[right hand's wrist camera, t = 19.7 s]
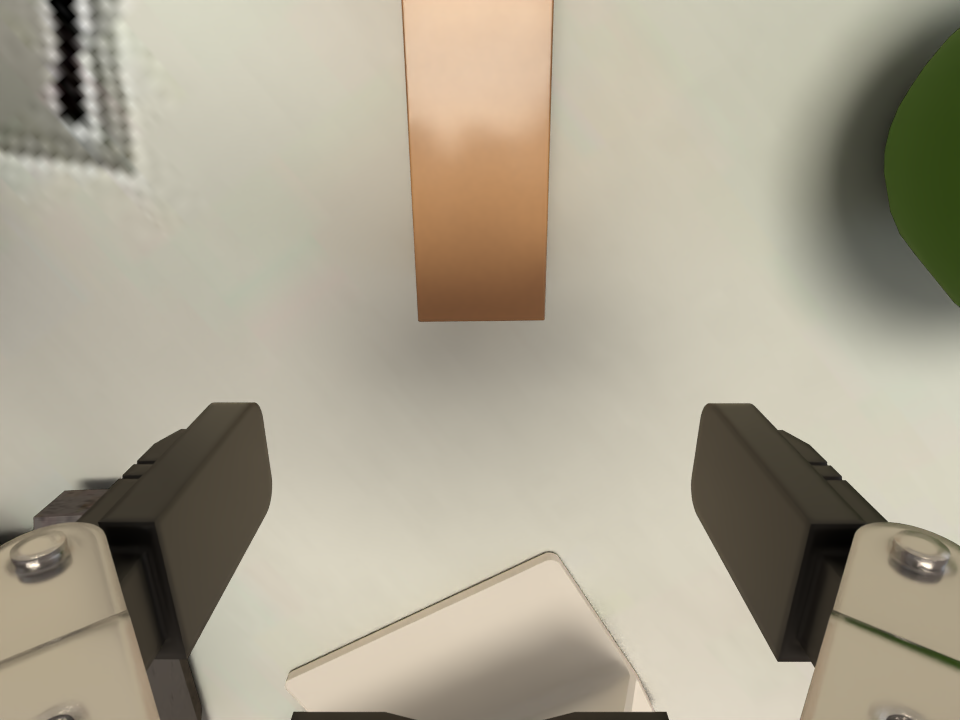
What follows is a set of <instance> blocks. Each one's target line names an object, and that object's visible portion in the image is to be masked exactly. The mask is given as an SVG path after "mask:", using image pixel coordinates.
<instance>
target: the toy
mask: <svg viewBox="0 0 960 720" xmlns="http://www.w3.org/2000/svg"><path fill="white" fill-rule="evenodd" d="M107 490H108V489H96V490H70V491H64V492H63V493H62V494H60V495H59V496H58V497H57V498H56V499H55V500H53V501H52V502H51V503H50V504H49V505H48V506H46V507H45V508H44V509H43V510H42V511H41V512H39V513H38V514H37V515H36V516H35V517H34V518H33V519H34V530H36V529H39V528H42V527H46V526H50V525H55V524H60V523H68V522H76V521H77V520H78V519H79V518H80V517H81V516H82V515H83V514H84V513H85V512H86V511H87V510H88V509H89V508H90V507H91V506H92V505H93V504H94V503H95V502H96V501H97V500H98V499H99V498H100V497H101V496H102V495H103V494H104V493H105V492H106V491H107ZM146 673H147V677H148V680H149V683H150V687H151V690H152V694H153V697H154V701H155V704H156V707H157V711H158V714H159V718H160V720H201V715H202V708H201V703H200V700H199V697H198V694H197V690H196V687H195V684H194V680H193V677H192V674H191V670H190V667H189V664H188V660H187V659H154V660H153V662H152V664H151V665H150V667H149V669H148V670H147V672H146Z"/></svg>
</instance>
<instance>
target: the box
mask: <svg viewBox="0 0 960 720" xmlns="http://www.w3.org/2000/svg"><path fill="white" fill-rule="evenodd" d="M553 9H554V0H402V20H403V39H404V58H405V77H406V96H407V115H408V134H409V154H410V173H411V192H412V211H413V230H414V249H415V269H416V288H417V307H418V321H419V322H436V321H522V320H544V319H545V291H546V256H547V221H548V185H549V150H550V115H551V79H552V44H553Z"/></svg>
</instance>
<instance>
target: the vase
mask: <svg viewBox="0 0 960 720" xmlns="http://www.w3.org/2000/svg"><path fill="white" fill-rule="evenodd" d="M884 175H885V182H886V188H887V194H888V200H889V206H890V212H891V214H892V216H893V219H894V221H895V223H896V226H897V228H898V231H899V233H900V235H901V236H902V238H903V239H904V240H905V242H906V243H907V244H908V246H909V247H910V248H911V250H912V251H913V252H914V254H915V255H916V256H917V257H918V258H919V260H920V261H921V262H922V263H923V265H924V266H925V267H926V268H927V270H928V271H929V272H930V273H931V275H932V276H933V277H934V278H935V279H936V281H937V282H938V283H939V284H940V286H941V287H942V288H943V289H944V291H945V292H946V293H947V294H948V296H949V297H950V298H951V299H952V300H953V302H954V303H955V304H956V305H958V306H959V307H960V28H959V29H958V30H957V31H956V32H955V33H953V34H952V35H951V36H950V37H949V38H948V39H947V40H946V41H945V43H944V44H943V45H942V46H941V47H940V49H939V50H938V51H937V52H936V53H935V55H934V56H933V57H932V58H931V59H930V61H929V62H928V63H927V64H926V65H925V67H924V68H923V70H922V71H921V73H920V74H919V76H918V77H917V79H916V80H915V82H914V83H913V84H912V86H911V88H910V89H909V91H908V92H907V94H906V96H905V97H904V99H903V101H902V102H901V104H900V106H899V107H898V110H897V112H896V114H895V117H894V119H893V122H892V124H891V127H890V129H889V134H888V138H887V142H886V147H885V154H884Z"/></svg>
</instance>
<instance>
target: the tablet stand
mask: <svg viewBox="0 0 960 720" xmlns="http://www.w3.org/2000/svg"><path fill="white" fill-rule="evenodd" d="M285 688H286V690H287V691H288V692H289V693H290V694H291V695H292V696H293V697H294V698H295V699H296V700H297V701H298V702H299V703H300V704H301V705H302V706H303V707H304V708H305V709H306V710H307V711H308V712H388V713H392V714H396V715H400V716H403V717H407V718H411V719H415V720H545V719H549V718H553V717H557V716H560V715H564V714H568V713H572V712H655V710H654V708H653V706H652V704H651V702H650V700H649V698H648V696H647V694H646V692H645V690H644V688H643V686H642V684H641V682H640V680H639V678H638V675H637V674H636V672H635V671H634V669H633V668H632V666H631V665H630V663H629V662H628V660H627V659H626V657H625V656H624V654H623V653H622V651H621V650H620V648H619V647H618V645H617V644H616V642H615V641H614V639H613V638H612V636H611V635H610V633H609V632H608V630H607V629H606V627H605V626H604V624H603V623H602V621H601V620H600V618H599V617H598V615H597V614H596V612H595V611H594V609H593V608H592V606H591V605H590V603H589V602H588V600H587V599H586V597H585V596H584V594H583V593H582V591H581V590H580V588H579V587H578V585H577V584H576V582H575V581H574V579H573V578H572V576H571V575H570V573H569V572H568V570H567V569H566V567H565V566H564V564H563V563H562V561H561V560H560V558H559V557H558V556H557V555H556V554H554V553H545V554H542V555H540V556H538V557H536V558H534V559H532V560H529V561H527V562H525V563H523V564H521V565H519V566H517V567H514V568H512V569H510V570H508V571H506V572H504V573H502V574H499V575H497V576H495V577H493V578H491V579H489V580H487V581H484V582H482V583H480V584H478V585H476V586H474V587H472V588H469V589H467V590H465V591H463V592H461V593H459V594H457V595H454V596H452V597H450V598H448V599H446V600H444V601H442V602H439V603H437V604H435V605H433V606H431V607H429V608H426V609H424V610H422V611H420V612H418V613H416V614H414V615H411V616H409V617H407V618H405V619H403V620H401V621H399V622H396V623H394V624H392V625H390V626H388V627H386V628H384V629H381V630H379V631H377V632H375V633H373V634H371V635H369V636H366V637H364V638H362V639H360V640H358V641H356V642H354V643H351V644H349V645H347V646H345V647H343V648H341V649H339V650H336V651H334V652H332V653H330V654H328V655H326V656H324V657H321V658H319V659H317V660H315V661H313V662H311V663H309V664H306V665H304V666H302V667H300V668H298V669H296V670H294V671H292V672H290V673H289V675H288V677H287V680H286V683H285Z"/></svg>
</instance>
